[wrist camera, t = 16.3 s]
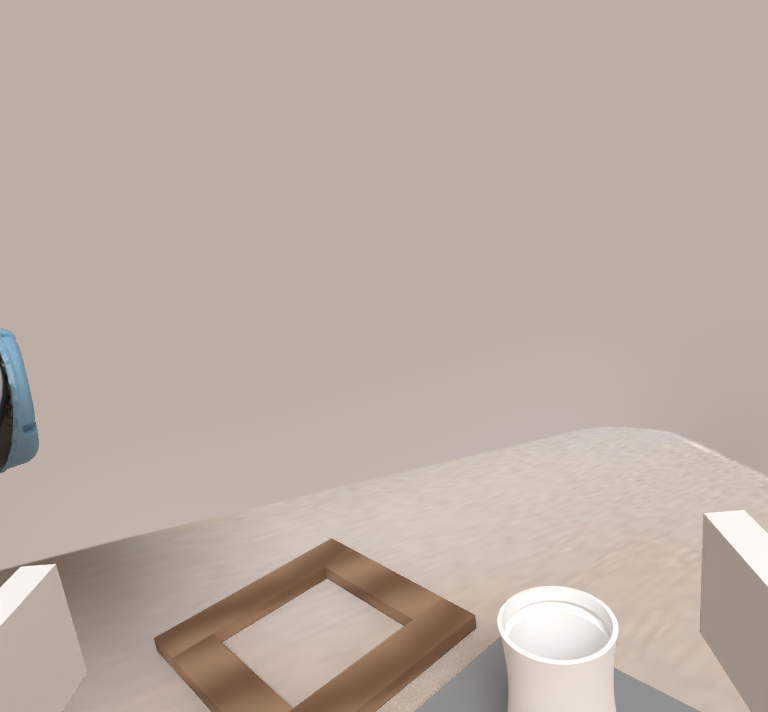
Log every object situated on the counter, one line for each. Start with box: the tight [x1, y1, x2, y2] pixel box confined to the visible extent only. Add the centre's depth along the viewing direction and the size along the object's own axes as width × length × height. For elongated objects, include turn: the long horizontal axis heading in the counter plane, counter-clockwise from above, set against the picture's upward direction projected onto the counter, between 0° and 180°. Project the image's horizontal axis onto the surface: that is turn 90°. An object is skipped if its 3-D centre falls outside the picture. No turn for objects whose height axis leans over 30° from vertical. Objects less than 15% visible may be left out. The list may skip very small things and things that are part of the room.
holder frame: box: [154, 538, 476, 712], centre depth 44 cm, size 16×16×1 cm
